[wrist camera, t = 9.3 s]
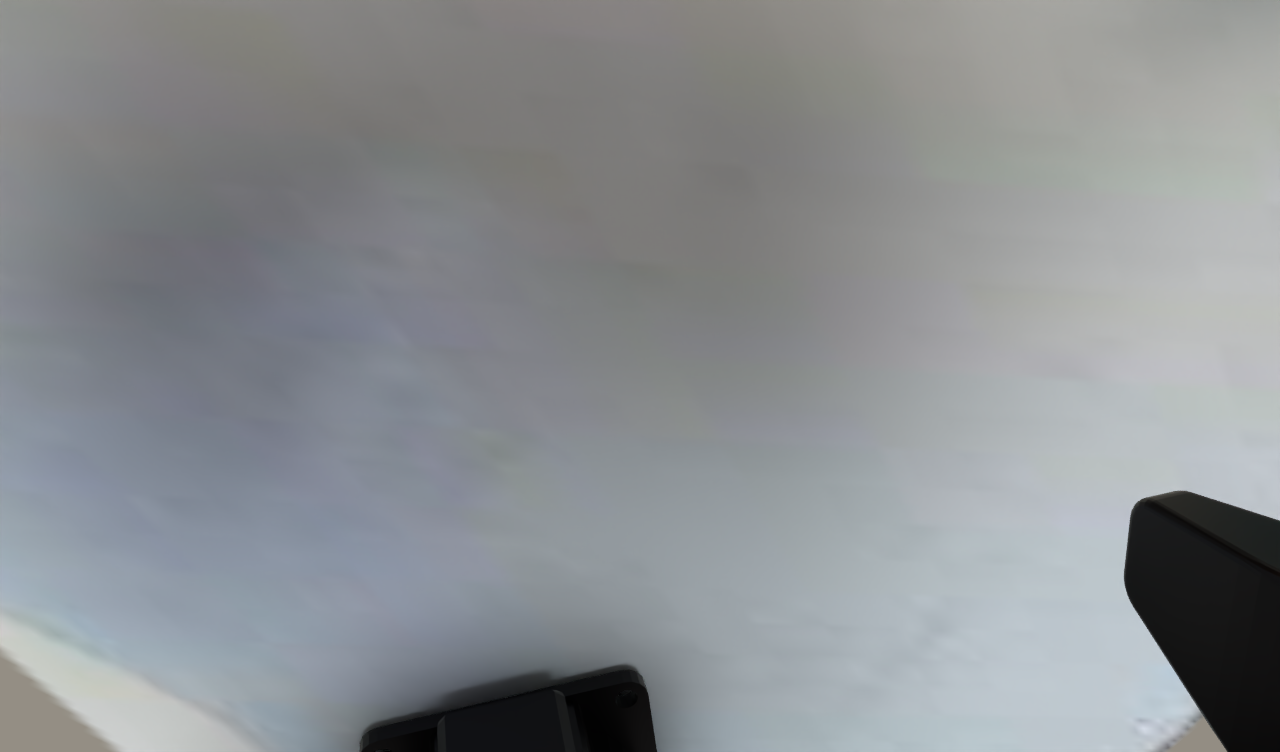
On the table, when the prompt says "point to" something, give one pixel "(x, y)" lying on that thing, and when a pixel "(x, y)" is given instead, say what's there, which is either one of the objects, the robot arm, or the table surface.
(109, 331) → the table surface
